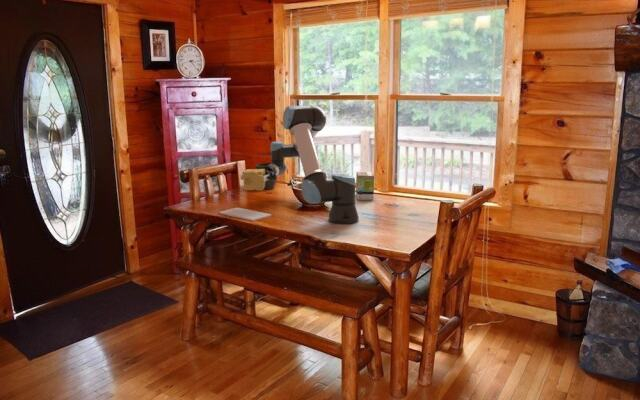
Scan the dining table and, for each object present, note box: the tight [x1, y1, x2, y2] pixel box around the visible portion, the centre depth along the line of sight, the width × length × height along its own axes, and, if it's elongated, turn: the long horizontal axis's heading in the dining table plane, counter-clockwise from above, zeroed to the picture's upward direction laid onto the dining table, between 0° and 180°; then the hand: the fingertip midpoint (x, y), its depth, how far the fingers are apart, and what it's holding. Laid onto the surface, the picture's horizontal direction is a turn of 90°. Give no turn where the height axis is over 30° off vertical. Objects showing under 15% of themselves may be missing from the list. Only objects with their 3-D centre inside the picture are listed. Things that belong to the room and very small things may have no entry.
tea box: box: [355, 171, 375, 201], centre depth 310 cm, size 15×10×15 cm
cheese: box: [242, 168, 265, 191], centre depth 278 cm, size 10×11×10 cm
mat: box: [218, 207, 272, 222], centre depth 274 cm, size 26×13×1 cm, turn 52°
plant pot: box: [255, 162, 278, 191], centre depth 337 cm, size 15×15×16 cm
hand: (251, 178), depth 275 cm, fingers closed on cheese, 13 cm apart
